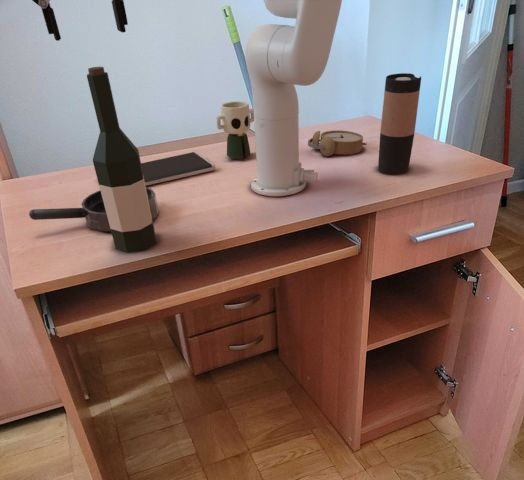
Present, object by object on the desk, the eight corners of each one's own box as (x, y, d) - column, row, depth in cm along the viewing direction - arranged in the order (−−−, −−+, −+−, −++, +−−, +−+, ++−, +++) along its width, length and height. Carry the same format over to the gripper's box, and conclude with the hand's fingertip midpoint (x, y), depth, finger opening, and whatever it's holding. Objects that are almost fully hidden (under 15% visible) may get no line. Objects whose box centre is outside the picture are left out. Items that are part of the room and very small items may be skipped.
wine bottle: (148, 253, 93) (108, 73, 74) (107, 251, 95) (58, 74, 76) (163, 233, 100) (130, 62, 81) (124, 231, 101) (83, 63, 82)
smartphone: (216, 171, 126) (215, 164, 125) (111, 195, 117) (109, 188, 116) (196, 157, 135) (195, 150, 134) (97, 178, 126) (96, 172, 125)
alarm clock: (372, 140, 129) (319, 138, 124) (367, 159, 132) (316, 158, 127) (352, 129, 137) (302, 126, 133) (348, 147, 140) (299, 146, 135)
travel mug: (373, 173, 119) (382, 80, 106) (380, 163, 124) (389, 72, 112) (406, 176, 116) (419, 81, 104) (411, 165, 122) (424, 73, 109)
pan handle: (87, 214, 104) (82, 198, 102) (89, 218, 103) (84, 201, 101) (33, 225, 101) (27, 209, 99) (34, 229, 100) (27, 212, 98)
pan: (149, 198, 114) (146, 180, 112) (166, 223, 103) (162, 203, 101) (83, 212, 110) (77, 193, 107) (92, 239, 99) (86, 219, 97)
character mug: (227, 165, 129) (222, 111, 121) (214, 158, 134) (208, 105, 125) (263, 156, 133) (260, 103, 125) (249, 149, 138) (246, 98, 130)
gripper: (-18, -119, 60) (32, 46, 71) (124, -125, 65) (151, 31, 76) (-17, -112, 65) (29, 40, 76) (114, -118, 70) (140, 26, 81)
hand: (90, 35), depth 76 cm, fingers open, 9 cm apart
